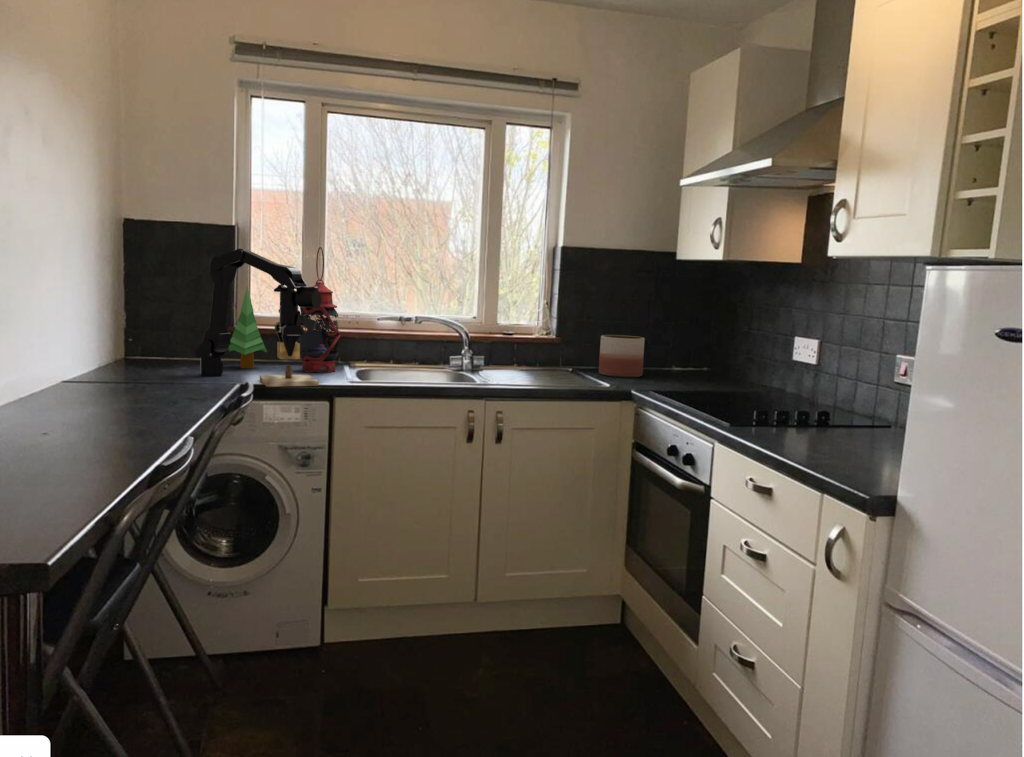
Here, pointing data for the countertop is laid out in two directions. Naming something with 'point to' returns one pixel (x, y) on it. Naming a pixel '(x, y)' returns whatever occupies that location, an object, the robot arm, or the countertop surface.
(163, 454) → the countertop surface
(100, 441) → the countertop surface
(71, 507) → the countertop surface
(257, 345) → the decorative tree
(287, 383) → the post board
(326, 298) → the lantern
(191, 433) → the countertop surface
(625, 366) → the planter
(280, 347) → the wooden crate frame
